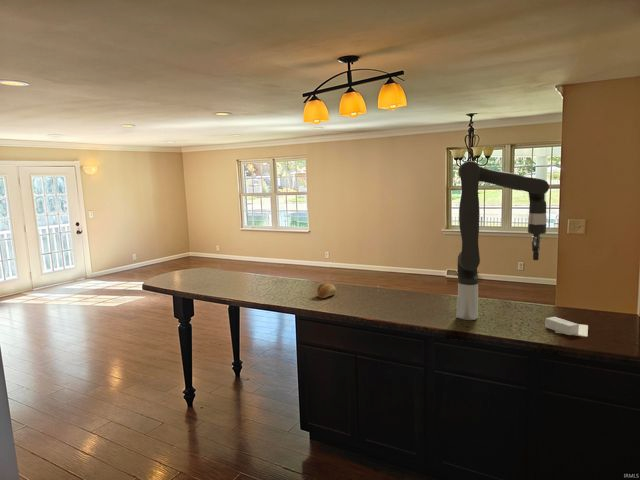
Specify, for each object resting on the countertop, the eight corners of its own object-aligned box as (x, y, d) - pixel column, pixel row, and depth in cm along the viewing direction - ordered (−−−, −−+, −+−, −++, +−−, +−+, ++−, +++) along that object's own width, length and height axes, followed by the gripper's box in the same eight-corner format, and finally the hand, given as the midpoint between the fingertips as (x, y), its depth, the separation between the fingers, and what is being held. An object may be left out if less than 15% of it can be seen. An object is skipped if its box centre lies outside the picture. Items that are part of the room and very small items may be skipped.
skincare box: (544, 327, 193) (568, 335, 182) (545, 317, 192) (568, 325, 181) (554, 325, 195) (578, 333, 184) (555, 316, 194) (579, 324, 183)
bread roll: (313, 298, 253) (312, 285, 252) (325, 293, 266) (325, 280, 265) (327, 300, 248) (327, 287, 247) (339, 294, 261) (339, 281, 260)
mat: (555, 332, 187) (555, 331, 187) (557, 322, 200) (557, 321, 200) (587, 337, 181) (587, 336, 180) (587, 326, 194) (588, 325, 194)
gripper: (530, 221, 206) (528, 257, 208) (526, 224, 195) (524, 261, 197) (547, 222, 202) (546, 258, 204) (544, 224, 191) (543, 263, 193)
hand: (535, 260), depth 200 cm, fingers closed
